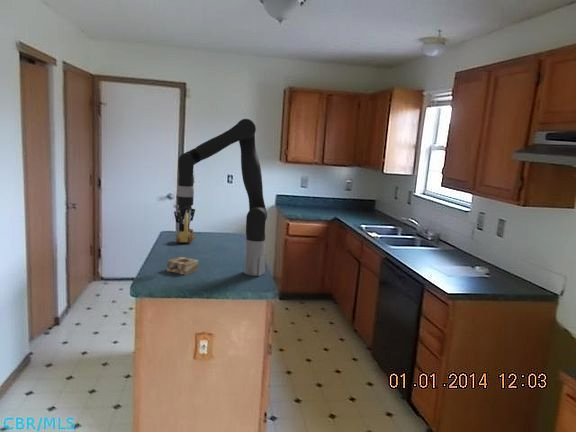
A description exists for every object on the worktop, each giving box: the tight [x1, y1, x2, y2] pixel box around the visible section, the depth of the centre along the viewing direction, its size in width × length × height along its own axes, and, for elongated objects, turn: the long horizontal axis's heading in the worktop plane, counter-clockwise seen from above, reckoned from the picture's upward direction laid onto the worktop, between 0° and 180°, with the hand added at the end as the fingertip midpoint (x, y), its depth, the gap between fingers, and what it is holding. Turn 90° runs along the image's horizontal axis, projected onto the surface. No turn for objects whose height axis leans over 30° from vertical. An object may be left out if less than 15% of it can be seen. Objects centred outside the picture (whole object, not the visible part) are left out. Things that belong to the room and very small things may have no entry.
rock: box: [175, 228, 196, 244], centre depth 271 cm, size 12×10×10 cm
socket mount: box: [166, 256, 199, 276], centre depth 216 cm, size 11×14×5 cm
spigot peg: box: [180, 213, 189, 243], centre depth 214 cm, size 4×4×14 cm
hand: (184, 230), depth 214 cm, fingers closed on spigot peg, 3 cm apart
